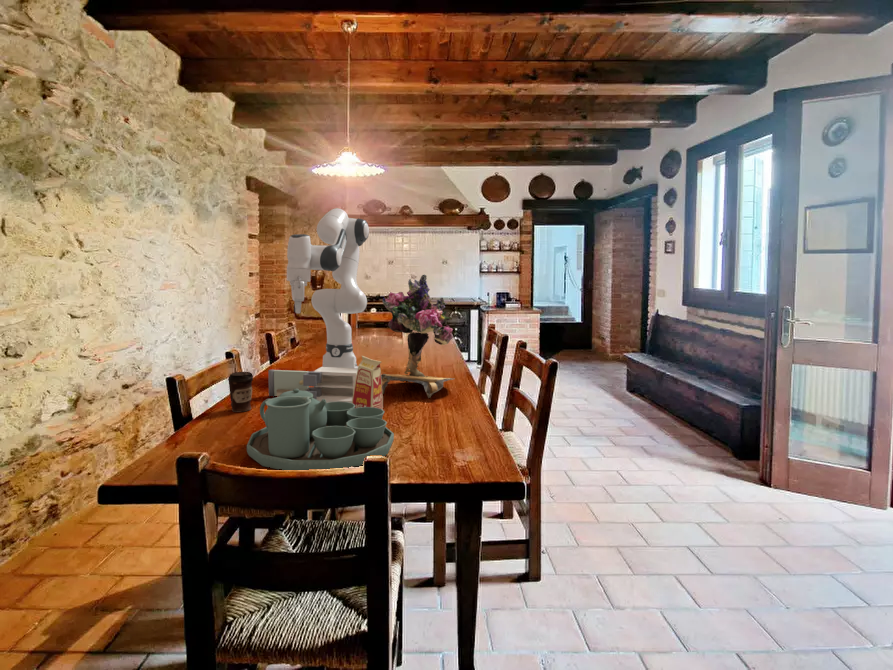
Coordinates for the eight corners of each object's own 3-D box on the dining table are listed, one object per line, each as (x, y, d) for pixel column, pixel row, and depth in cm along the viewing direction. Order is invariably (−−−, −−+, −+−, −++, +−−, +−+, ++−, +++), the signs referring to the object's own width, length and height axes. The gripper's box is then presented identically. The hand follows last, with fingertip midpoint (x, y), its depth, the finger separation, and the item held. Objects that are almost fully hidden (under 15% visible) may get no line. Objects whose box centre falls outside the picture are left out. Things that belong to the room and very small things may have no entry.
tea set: (392, 473, 140) (393, 409, 138) (228, 475, 137) (226, 409, 135) (394, 426, 179) (394, 376, 177) (266, 427, 176) (265, 375, 174)
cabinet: (317, 394, 218) (317, 366, 217) (361, 396, 217) (361, 368, 215) (303, 404, 202) (303, 374, 201) (351, 406, 201) (351, 376, 200)
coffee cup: (259, 410, 194) (258, 373, 192) (236, 414, 188) (235, 376, 186) (247, 405, 200) (246, 369, 198) (224, 409, 194) (223, 372, 192)
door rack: (281, 394, 216) (281, 387, 216) (306, 395, 216) (306, 388, 215) (276, 397, 212) (276, 389, 211) (302, 398, 211) (302, 390, 211)
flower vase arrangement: (455, 368, 257) (465, 277, 236) (452, 426, 218) (464, 322, 197) (383, 361, 257) (386, 269, 236) (367, 418, 217) (370, 314, 197)
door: (270, 394, 216) (269, 369, 214) (309, 396, 214) (309, 371, 213) (267, 396, 212) (266, 371, 211) (306, 398, 211) (306, 372, 210)
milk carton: (350, 415, 190) (350, 357, 188) (363, 408, 199) (363, 353, 196) (374, 418, 187) (374, 359, 185) (386, 411, 196) (387, 355, 193)
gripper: (308, 276, 204) (307, 314, 205) (305, 277, 223) (304, 312, 224) (290, 275, 202) (289, 313, 203) (289, 277, 221) (288, 311, 222)
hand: (297, 313), depth 214 cm, fingers open, 8 cm apart
